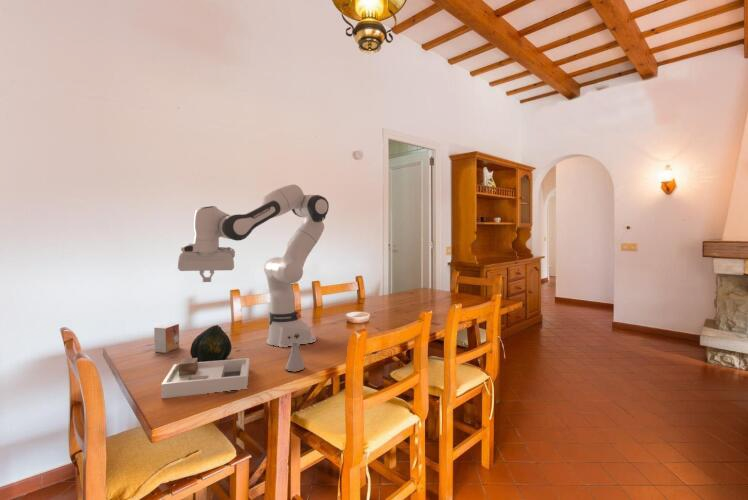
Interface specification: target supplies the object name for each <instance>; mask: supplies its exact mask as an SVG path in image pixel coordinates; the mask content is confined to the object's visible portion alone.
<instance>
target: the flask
mask: <svg viewBox="0 0 748 500" xmlns="http://www.w3.org/2000/svg"><path fill="white" fill-rule="evenodd" d="M291 346H292V347H290V348H291V350H290V355H289V356H288V360H287V362H286V365H285V368H284V370H285V369H287V370H288V371H297V370H301V369H303V368H304V367H305V368H306V366H305V363H304V361H303V358H302V354H301V351H300V346H301V345H300V343H298V342H293V343H291ZM288 371H287V372H288Z"/></svg>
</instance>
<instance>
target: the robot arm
mask: <svg viewBox="0 0 748 500" xmlns="http://www.w3.org/2000/svg"><path fill="white" fill-rule="evenodd" d="M261 200H262V201H261V205H260V206H258V207H257V208H254V209H253V210H251V211H249V212H247V213H243V214H240V213H239V214H233V215H230V214H229V213H226V212H224V211H222V210H221V209H219V208H218V207H217V206H215V205H211V206H210V205H209V206H202V207H199V208H197V209H196V210H195V213H194V219H193V229H194V233H195V235H194V238H193V239H194V240H193V243H189V244H186V245H183V246H181V247H180V251H181V253H180V254H179V256H178V260H177V261H178V262H177V269H178V270H179V271H180V272H199V276H201V278H202V283H212V278H213V276H214V274H215V271H233V270H234V268H235V261H234V258H235V255H236V252H235V249H234V248H232V247H229V246H227V247H226V246H225V247H224V246H220V240H219V239H220V238H222V239H228V240H232V241H238V242H239V241H242V240H245V239H246V238H247V237H249V235H250V234H251V233H252V232H253V230H255V228H257V227H259V226H260V225H262V224H264V223H265V222H267V221H269V220H271V219H274V218H277V217H279V216H282V215H285V214H287V213H288V212H290V211H292V213H293V214H294V215H295V216H297V217H299V218H302V223H301V224H300V226H299V227H298V229H297V230H296V231H295V232H294V234H293V235H292V236H291V238H290V239H289V240H288V242H287V244H286V245H287V246H286V250H285V253H284V255H283V256H282V257H279V256H278V257H277V256H275V257H272V258H270V259H267V260H266V262H265V263H264V267H263V270H264V271H263V272H264V273H265V276H266V280H267V286H268V290H269V301H270V303H269V307H270V308H269V309H270V310H269V314H268V324H269V328H268V329H269V330H268V335H267V339H266V343H267V344H268V345H270V346H273V345H274V347H278V346H279V348H282V347H284V348H289V347H288V346H291V343H293V342H298V343H300V344H306V343H312V342H315V341H316V342H317V337H316V336H315V335H314V334H312V331H311V328H310V326H309V325H308V324H307V323H306V322H305V321H303V320H301V319H300V318H301V316H302V315H301V313H300V312H299V311H298V310H296V307H295V306H296V295H295V292H294V290H293V287H292V284H295V283H299V281H300V280H301V279H302V278H303V275H304V270H303V269H304V266H305V262H306V260H307V258H308V256H309V255H310V253H311V252H312V250H313V249H314V247H315V246H316V245H317V243H318V241H319V240H320V239H321V236H322V234H323V232H324V230H325V223H324V222H323V221H324V220H325V219H326V217H327V214H328V212H329V207H330V206H329V205H330V204H329V202H328V199H327V198H326V197H325V196H322V195H319V194H304V191H303V190H302V188H301V187H300V186H299V185H297V184H289V185H285V186H282V187H279V188H277V189H275V190H272V191H271V192H269V193H268V194H266V195H265V196H263V197H262V199H261ZM205 271H209V273H210V275H209V276H205V275H204V273H205ZM316 342H315V343H316ZM306 345H307V344H306Z"/></svg>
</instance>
